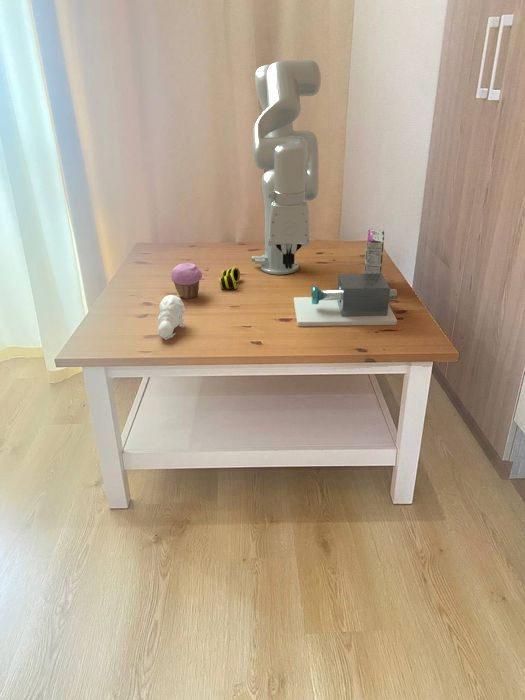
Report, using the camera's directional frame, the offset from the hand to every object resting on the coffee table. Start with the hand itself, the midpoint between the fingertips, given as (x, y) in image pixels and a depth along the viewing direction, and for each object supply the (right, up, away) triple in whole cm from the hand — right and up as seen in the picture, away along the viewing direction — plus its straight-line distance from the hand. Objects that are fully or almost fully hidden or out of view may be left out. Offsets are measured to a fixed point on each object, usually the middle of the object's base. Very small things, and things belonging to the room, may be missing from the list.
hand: (288, 266), depth 142 cm
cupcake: (-29, -6, +17) cm, 34 cm away
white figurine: (-31, -18, -3) cm, 36 cm away
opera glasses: (-17, -2, +24) cm, 30 cm away
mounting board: (+15, -12, +6) cm, 20 cm away
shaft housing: (+20, -11, +5) cm, 23 cm away
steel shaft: (+18, -9, +4) cm, 21 cm away
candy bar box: (+26, -4, +21) cm, 33 cm away
